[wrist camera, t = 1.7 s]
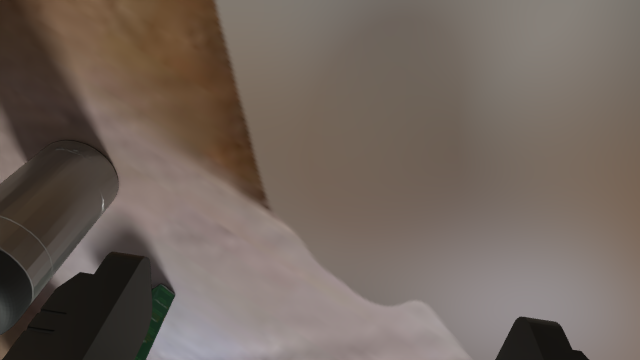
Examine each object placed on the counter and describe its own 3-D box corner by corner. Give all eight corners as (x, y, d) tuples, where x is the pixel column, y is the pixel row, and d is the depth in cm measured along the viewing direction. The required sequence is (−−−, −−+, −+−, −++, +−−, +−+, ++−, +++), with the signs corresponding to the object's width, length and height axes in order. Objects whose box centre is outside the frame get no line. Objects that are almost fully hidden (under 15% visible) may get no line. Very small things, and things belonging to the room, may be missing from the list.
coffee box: (139, 320, 67) (95, 406, 55) (122, 308, 66) (75, 393, 54) (177, 295, 64) (139, 380, 52) (160, 281, 63) (118, 366, 51)
